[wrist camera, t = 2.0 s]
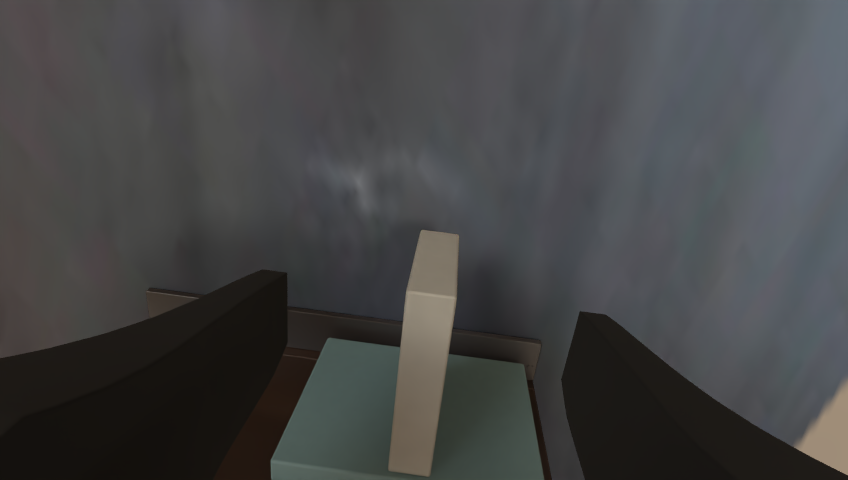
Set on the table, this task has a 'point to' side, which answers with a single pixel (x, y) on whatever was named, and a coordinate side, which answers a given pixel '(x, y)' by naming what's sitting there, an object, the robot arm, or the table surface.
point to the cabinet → (307, 334)
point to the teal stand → (412, 399)
